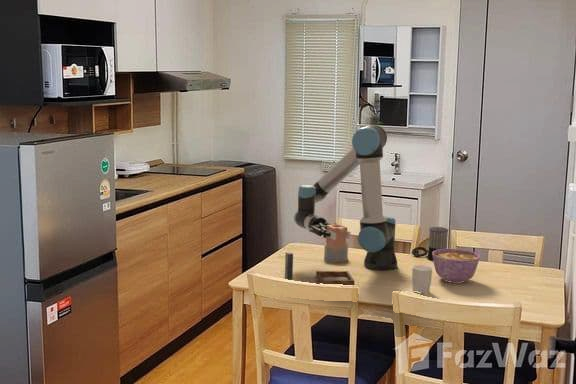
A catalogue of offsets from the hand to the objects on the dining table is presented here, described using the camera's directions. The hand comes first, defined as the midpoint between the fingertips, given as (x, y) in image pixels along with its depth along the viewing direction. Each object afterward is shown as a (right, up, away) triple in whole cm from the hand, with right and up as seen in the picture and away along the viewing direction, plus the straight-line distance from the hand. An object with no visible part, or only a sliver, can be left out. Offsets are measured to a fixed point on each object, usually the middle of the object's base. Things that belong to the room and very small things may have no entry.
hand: (342, 235), depth 295 cm
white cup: (+32, -23, -3) cm, 39 cm away
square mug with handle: (-2, -5, +6) cm, 8 cm away
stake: (-22, -19, +11) cm, 31 cm away
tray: (-3, -20, +8) cm, 21 cm away
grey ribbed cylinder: (+45, -14, +50) cm, 69 cm away
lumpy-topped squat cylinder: (+1, -14, +45) cm, 47 cm away
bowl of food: (+49, -20, +14) cm, 55 cm away
